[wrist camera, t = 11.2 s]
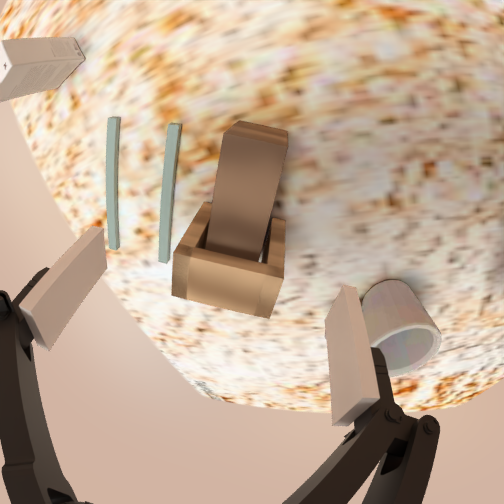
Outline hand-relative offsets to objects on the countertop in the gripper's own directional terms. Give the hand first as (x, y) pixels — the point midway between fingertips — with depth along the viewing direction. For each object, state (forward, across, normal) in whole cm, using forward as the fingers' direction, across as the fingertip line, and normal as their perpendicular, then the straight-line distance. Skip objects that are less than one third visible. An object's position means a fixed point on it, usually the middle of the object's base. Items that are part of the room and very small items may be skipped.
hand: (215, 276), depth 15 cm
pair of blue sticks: (+18, -13, -6) cm, 23 cm away
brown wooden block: (+19, 0, -3) cm, 19 cm away
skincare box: (+19, -26, +10) cm, 34 cm away
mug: (+19, +20, -14) cm, 31 cm away
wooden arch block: (+18, 0, -8) cm, 20 cm away
